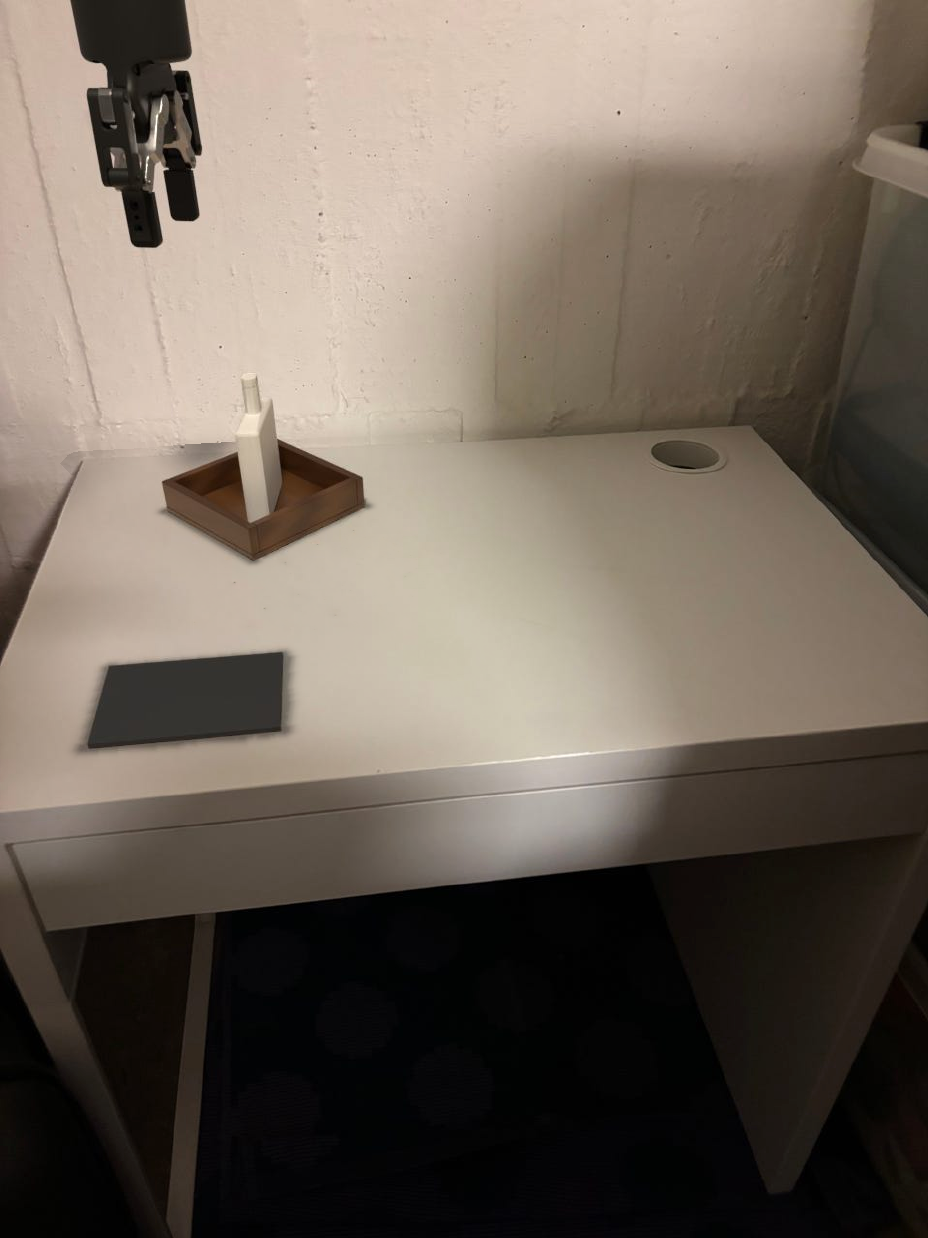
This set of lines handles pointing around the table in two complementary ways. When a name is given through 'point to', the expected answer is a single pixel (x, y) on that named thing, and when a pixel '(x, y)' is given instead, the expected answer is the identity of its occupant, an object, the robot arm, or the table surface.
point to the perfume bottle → (258, 451)
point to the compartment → (301, 507)
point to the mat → (189, 699)
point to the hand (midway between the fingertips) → (167, 232)
